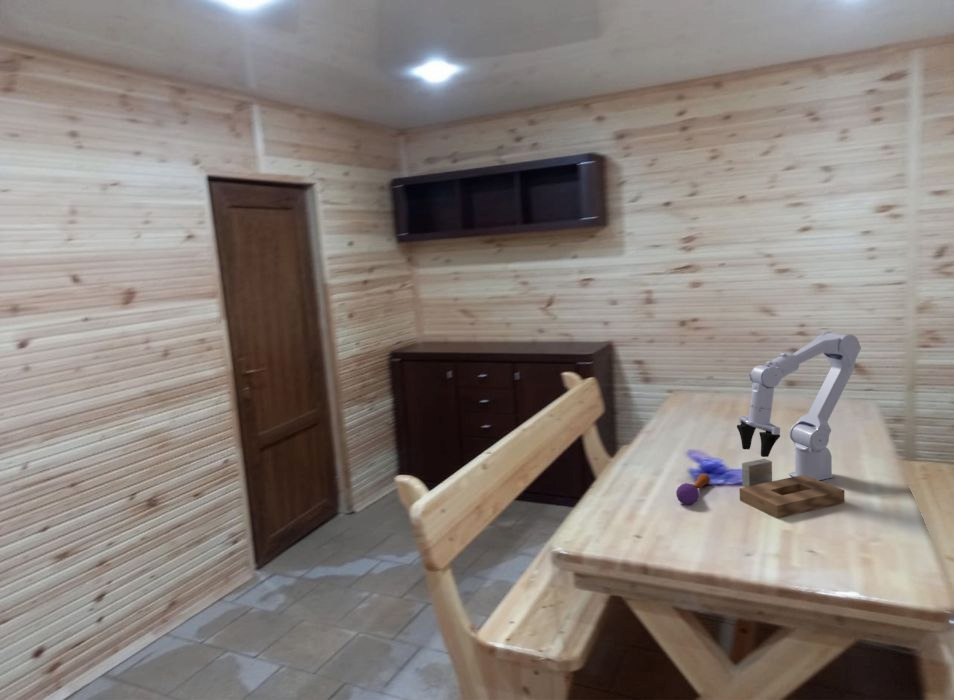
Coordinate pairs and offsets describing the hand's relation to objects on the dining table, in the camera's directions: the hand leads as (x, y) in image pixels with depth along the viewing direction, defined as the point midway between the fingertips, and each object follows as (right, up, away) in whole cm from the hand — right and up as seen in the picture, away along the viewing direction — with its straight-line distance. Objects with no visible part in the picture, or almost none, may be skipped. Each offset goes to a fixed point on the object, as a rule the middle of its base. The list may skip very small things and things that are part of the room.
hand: (755, 452), depth 185 cm
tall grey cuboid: (+1, -10, +2) cm, 10 cm away
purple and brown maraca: (-18, -12, -2) cm, 22 cm away
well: (+5, -11, -12) cm, 17 cm away
